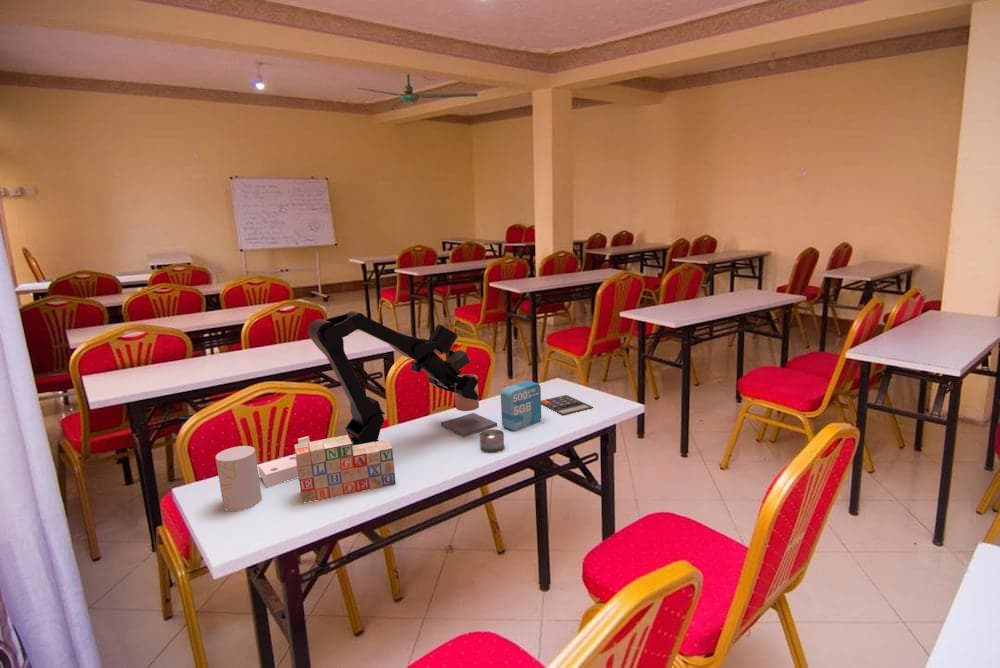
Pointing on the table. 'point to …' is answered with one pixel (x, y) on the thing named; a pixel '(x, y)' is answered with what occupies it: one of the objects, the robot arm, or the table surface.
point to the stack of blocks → (342, 467)
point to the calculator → (565, 405)
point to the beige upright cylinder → (238, 478)
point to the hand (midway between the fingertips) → (470, 395)
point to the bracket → (280, 468)
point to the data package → (521, 405)
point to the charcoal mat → (468, 424)
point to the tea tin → (491, 441)
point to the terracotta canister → (467, 403)
